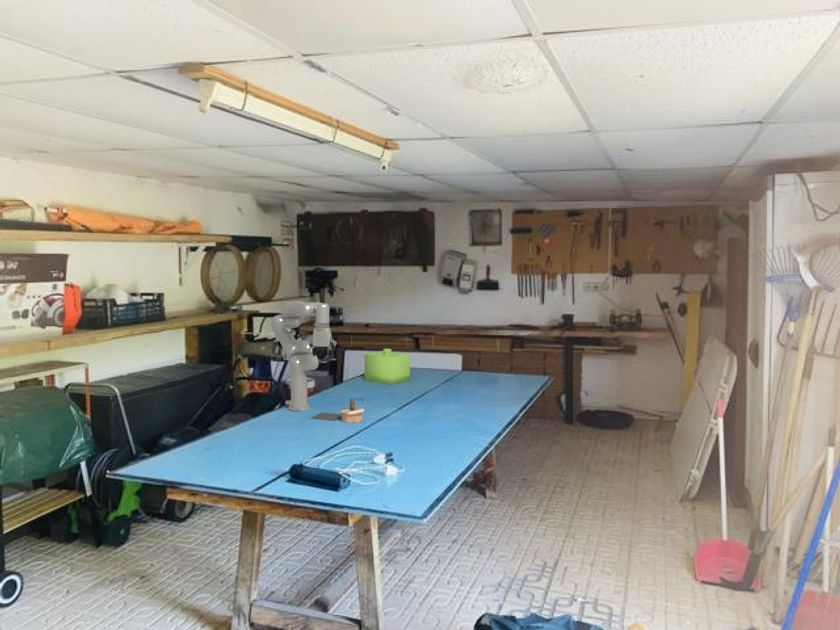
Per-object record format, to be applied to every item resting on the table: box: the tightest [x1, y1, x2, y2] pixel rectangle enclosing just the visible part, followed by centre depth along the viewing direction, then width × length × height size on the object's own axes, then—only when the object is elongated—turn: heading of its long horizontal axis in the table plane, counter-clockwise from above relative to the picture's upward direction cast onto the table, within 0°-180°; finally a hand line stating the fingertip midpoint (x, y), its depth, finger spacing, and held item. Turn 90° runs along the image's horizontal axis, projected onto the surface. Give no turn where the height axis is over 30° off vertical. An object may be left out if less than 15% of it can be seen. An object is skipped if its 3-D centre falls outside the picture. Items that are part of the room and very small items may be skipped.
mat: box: [309, 412, 342, 422], centre depth 366 cm, size 15×15×1 cm
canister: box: [364, 348, 411, 386], centre depth 474 cm, size 25×21×23 cm
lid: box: [340, 398, 365, 415], centre depth 359 cm, size 13×13×7 cm
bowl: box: [341, 413, 363, 424], centre depth 359 cm, size 11×11×5 cm
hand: (322, 356), depth 365 cm, fingers open, 9 cm apart
